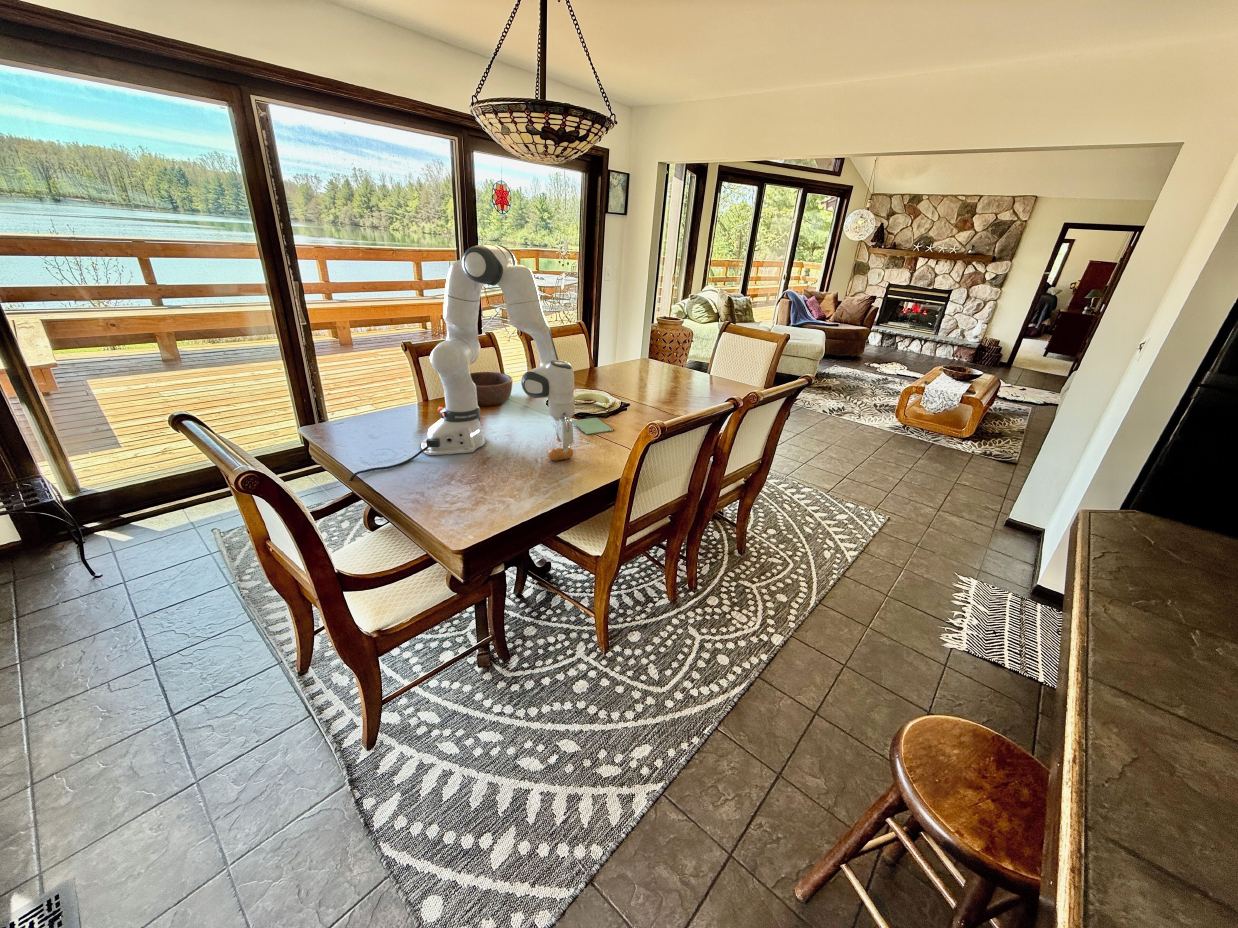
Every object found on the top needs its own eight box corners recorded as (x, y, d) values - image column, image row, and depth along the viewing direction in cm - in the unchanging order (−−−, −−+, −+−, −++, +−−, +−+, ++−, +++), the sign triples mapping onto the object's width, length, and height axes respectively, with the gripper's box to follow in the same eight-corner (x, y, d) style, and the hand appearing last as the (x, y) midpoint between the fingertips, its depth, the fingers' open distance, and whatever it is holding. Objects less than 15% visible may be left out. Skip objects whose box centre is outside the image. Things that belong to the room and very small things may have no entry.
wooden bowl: (463, 391, 235) (461, 371, 231) (515, 392, 238) (514, 372, 234) (453, 408, 213) (451, 386, 209) (510, 409, 216) (509, 387, 211)
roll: (550, 463, 167) (550, 452, 165) (546, 458, 171) (546, 447, 169) (575, 459, 171) (575, 448, 169) (570, 454, 175) (570, 443, 173)
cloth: (586, 434, 193) (586, 433, 193) (571, 421, 206) (571, 420, 205) (613, 430, 198) (613, 430, 198) (597, 418, 211) (597, 417, 211)
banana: (588, 385, 230) (617, 400, 218) (590, 394, 234) (617, 410, 222) (566, 396, 223) (594, 413, 212) (568, 406, 227) (595, 423, 215)
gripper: (577, 418, 155) (577, 457, 161) (564, 399, 173) (565, 435, 179) (558, 420, 153) (559, 459, 159) (547, 400, 171) (548, 436, 177)
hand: (562, 446), depth 169 cm, fingers open, 8 cm apart
